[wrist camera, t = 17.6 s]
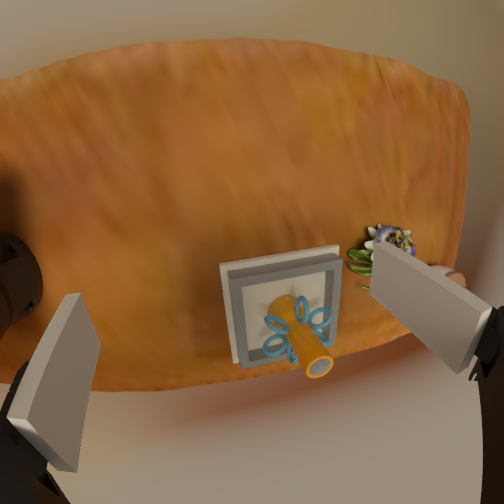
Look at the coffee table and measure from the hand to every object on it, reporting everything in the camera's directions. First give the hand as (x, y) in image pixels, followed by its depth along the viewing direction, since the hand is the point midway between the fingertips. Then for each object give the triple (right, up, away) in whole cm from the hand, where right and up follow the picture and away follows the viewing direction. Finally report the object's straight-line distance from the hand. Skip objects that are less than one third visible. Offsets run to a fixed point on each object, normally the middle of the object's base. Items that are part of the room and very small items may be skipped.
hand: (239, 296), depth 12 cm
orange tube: (+6, -8, +38) cm, 39 cm away
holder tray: (+6, -8, +38) cm, 40 cm away
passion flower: (+23, +3, +39) cm, 45 cm away
